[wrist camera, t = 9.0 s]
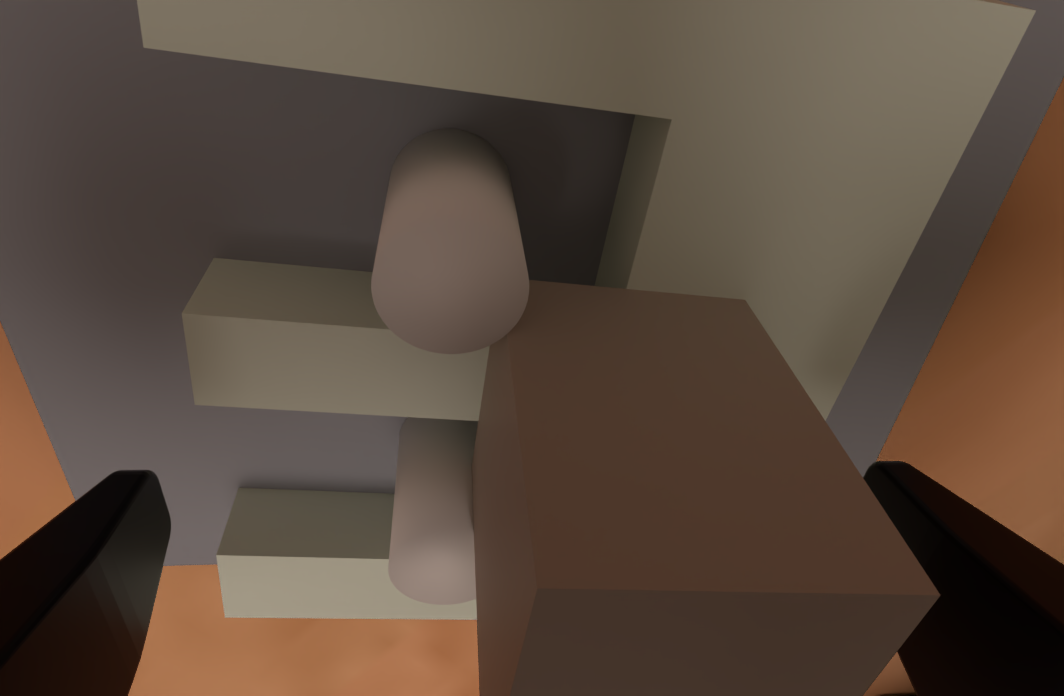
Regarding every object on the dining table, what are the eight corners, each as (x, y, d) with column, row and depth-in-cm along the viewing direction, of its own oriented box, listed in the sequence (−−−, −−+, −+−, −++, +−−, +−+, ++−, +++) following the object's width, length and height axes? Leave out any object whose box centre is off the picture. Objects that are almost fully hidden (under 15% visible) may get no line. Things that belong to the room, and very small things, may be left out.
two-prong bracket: (956, -11, 10) (1604, 163, 4) (699, 560, 16) (824, 910, 11) (169, -155, 8) (-433, -170, 2) (244, 548, 15) (125, 955, 9)
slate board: (1063, -39, 10) (1342, 10, 7) (815, 514, 17) (901, 668, 14) (-132, -142, 8) (-494, -137, 5) (122, 529, 15) (33, 712, 12)
